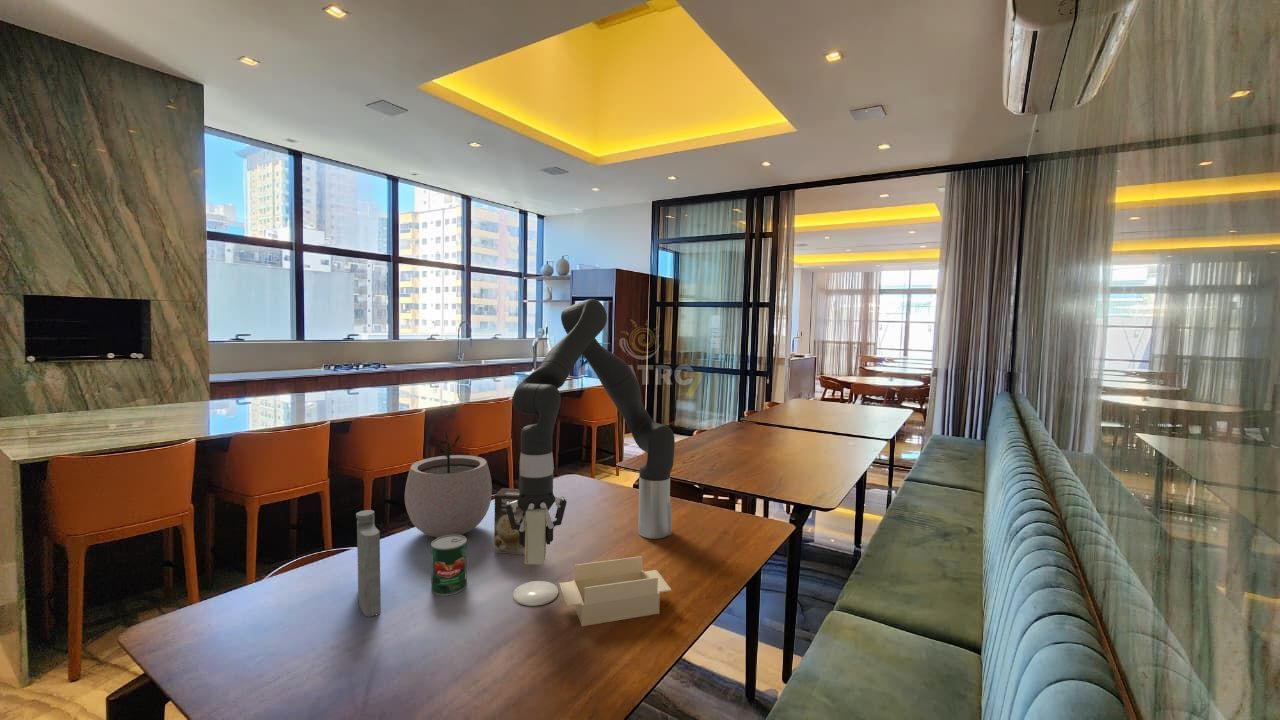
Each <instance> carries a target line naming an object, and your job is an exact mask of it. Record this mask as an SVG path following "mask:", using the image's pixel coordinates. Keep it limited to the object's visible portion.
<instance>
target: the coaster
mask: <svg viewBox="0 0 1280 720" xmlns="http://www.w3.org/2000/svg"><path fill="white" fill-rule="evenodd" d="M558 595H559V589H558V586H557V585H555V584H554V583H552V582H550V581H546V580H545V581H544V580H534V581H528V582H524V583H522V584H521V585H519V586H517V587H515V589H514V591H513V600H514V601H515V602H516V603H518V604H519V605H523V606H525V607H526V606H527V607H528V606H529V607H537V606H542V605H546V604H549V603H551V602H553V601H554V600H556V599H557V597H558Z"/></svg>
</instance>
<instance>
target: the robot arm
mask: <svg viewBox="0 0 1280 720" xmlns="http://www.w3.org/2000/svg"><path fill="white" fill-rule="evenodd" d="M607 315H608V314H607V310H606V309H605V307H604V305H603V304H602V303H601V302H600V301H599V300H598V299H595V298H589V299H585V300H583V301H579V302H577V303H575V304H572V305H570V306H567V307H566V308H564V309H563V310H562V311H561V314H560V318H561V319H560V320H561V324H562V326H563V329H564V332H565V333H566V335H565V336H564V337H562V339H560V341H558V342H557V343H556V344H555V345H554V346H553V347H552V348H551V349H550V350H549V351H548V352H547V353H546V356H545V357H544V358H543V360H542V361H541V363H540V365H539V366H538V368H536V369H535V370H534V371H532V372H531V373H530V374H529V375H528V376H526V377H525V378H524V379H523V380H522V381H520V383H518V385H517V386H516V388H515V390H514V392H513V394H512V406H513V408H514V409H515V410H516V412H518V413H519V414H523V415H531V416H539V419H538V421H537V423H535V424H528V425H526V426H524V427H523V428H522V429H521V431H520V454H519V455H520V456H519V457H520V458H519V470H518V471H519V473H518V474H519V479H518V483H519V485H518V486H519V488H518V489H519V497H518V498H517V500H516V501H512V502H509V501H507V502H506V503H505V505H506V510H507V514H508V518H509V521H510V525H511V529H512V530H518V531H519V543H520V545H522V547H525V519H526V511H533V509H542V510H545V509H546V518H545V519H546V522H547V526H546V546H547V545H551V543H552V542H553V540H554V528H555V527H556V526H561V525H562V523H563V518H564V516H565V511H566V506H567V500H566V497H564V496H561V497H556V496H555V494H554V470H555V467H554V457H553V434H554V430H555V424H556V420H557V417H558V414H559V411H560V408H561V403H562V402H561V401H562V396H561V393H560V390H559V389H560V388H561V387H562V386H563V385H564V384H565V382H566V381H567V379H568V377H569V375H570V373H571V372H572V370H573V368H574V367H575V365H576V363H577V362H578V361H579V359H580V358H581V356H582V355H583V357H584V358H585V359H586V362H588V364H589V366H590V367H591V369H592V370H593V372H594V373H595V375H596V376H597V378H598V379H599V382H600V383H601V386H602V387H603V388H604V390H605V393H607V395H608V396H609V398H610V399H611V401H612V402H613V404H614V406H615V407H616V408H617V410H618V412H619V413H620V415H621V416H622V418H623V419H624V421H625V423H626V425H627V428H628V430H630V433H631V436H632V437H633V440H634V441H635V444H636V446H637V447H638V448H639V449H640V450H642V451H644V452H646V453H647V459H646V463H645V464H642V465H641V466H640V467H639V472H638V473H639V474H638V475H639V476H638V478H639V479H638V523H637V525H638V528H637V531H638V535H639V536H641V537H643V538H646V539H649V540H651V539H652V540H653V539H654V540H658V539H663V538H666V537H668V536H671V535H672V528H673V527H672V522H673V521H672V520H673V504H672V502H671V500H670V499H671V497H670V496H671V494H670V493H671V473H672V470H673V467H674V459H675V444H676V443H675V434H674V432H673V429H672V428H671V427H670V426H668V425H665V424H662V423H658V422H656V421H655V420H653V418H652V417H651V416H650V414H649V412H648V411H647V410H646V408H645V405H644V404H643V400H642V398H643V397H642V391H641V386H640V383H639V381H638V379H637V377H636V376H635V373H634V371H633V370H632V368H631V367H630V366H629V364H628V363H627V362H626V361H625V360H623V359H622V358H620V357H619V356H617V355H616V354H615V353H613V352H611V351H609V350H608V349H607V348H605V347H603V345H601V343H600V342H598V340H597V339H596V338H597V337H598V335H599V334H600V333H601V332H602V331H603V330H604V329H605V327H606V324H607V320H608V316H607ZM554 503H555V506H556V507H557V508H556V513H555V516H554V518H552V517H551V514H550V512H549V510H551V508H552V506H553V505H554ZM517 505H518V506H519V507H520V508H521V509H522V510H523V513H522V516H521V519H520V522H519V523H518V522H515V518H514V514H513V512H514V511H515V510H516V506H517Z"/></svg>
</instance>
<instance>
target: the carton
mask: <svg viewBox="0 0 1280 720" xmlns="http://www.w3.org/2000/svg"><path fill="white" fill-rule="evenodd" d="M573 574H574V575H573V579H572V580H571V581H565V582H559V583H558V585H559V588H560V591H561V594H562V597H563V600H564V602H565V605H566V608H568V607H569V608H570V607H574V609H575V611H576V614H577V617H578V620H579V622H580V625H581V627H586V626H592V625H598V624H605V623H610V622H615V621H622V620H627V619H634V618H641V617H647V616H652V615H653V616H654V615H660V603H661V602H660V599H661V593H667V592H672V589H671V587H670V585H668V583H667V582H666V581H665V579H664V577H663V576H662V575H661V574H660V573H659V571H658V570H657V569H653V570H643V556H641V555H640V556H634V557H626V558H619V559H609V560H603V561H602V560H601V561H593V562H586V563H578V564H574V573H573Z"/></svg>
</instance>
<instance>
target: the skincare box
mask: <svg viewBox="0 0 1280 720" xmlns="http://www.w3.org/2000/svg"><path fill="white" fill-rule="evenodd" d="M545 518H546V509H545V510H542V509H533V511H526V519H525V555H524V565H544V564H545V560H546V554H547V543H546V526H547V522H546V519H545Z"/></svg>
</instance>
